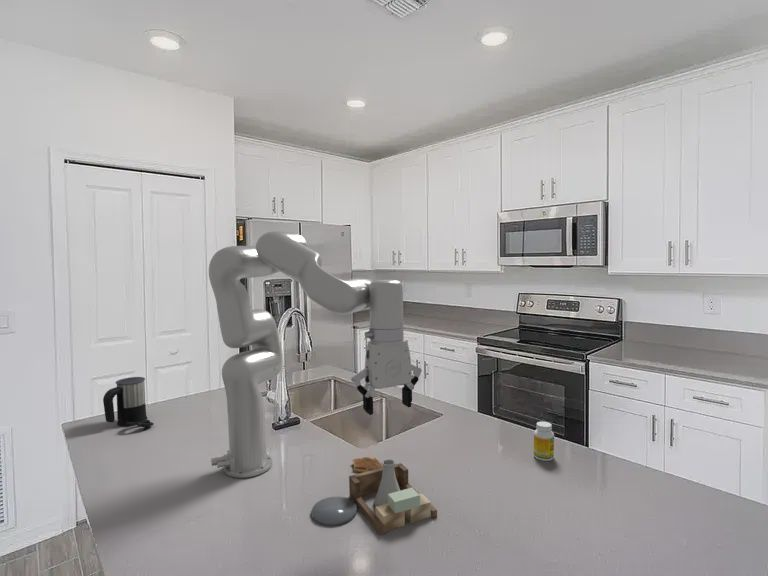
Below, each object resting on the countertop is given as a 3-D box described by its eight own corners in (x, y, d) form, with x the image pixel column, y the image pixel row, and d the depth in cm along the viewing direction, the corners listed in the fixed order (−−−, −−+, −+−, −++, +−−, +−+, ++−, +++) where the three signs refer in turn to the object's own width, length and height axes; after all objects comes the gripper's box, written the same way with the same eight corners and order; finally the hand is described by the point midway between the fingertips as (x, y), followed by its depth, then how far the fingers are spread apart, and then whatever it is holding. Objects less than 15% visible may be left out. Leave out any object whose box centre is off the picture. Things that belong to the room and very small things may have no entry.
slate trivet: (320, 530, 94) (320, 527, 94) (306, 506, 103) (306, 503, 103) (363, 517, 98) (363, 514, 98) (346, 495, 107) (346, 492, 107)
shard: (388, 479, 116) (388, 473, 116) (360, 485, 113) (360, 478, 113) (375, 461, 126) (375, 455, 126) (348, 466, 123) (348, 459, 123)
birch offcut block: (411, 523, 96) (411, 508, 96) (402, 514, 100) (402, 499, 100) (430, 517, 99) (430, 502, 98) (421, 508, 102) (421, 493, 102)
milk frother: (130, 416, 162) (127, 375, 161) (170, 417, 160) (168, 377, 159) (100, 431, 148) (97, 388, 147) (143, 433, 146) (141, 389, 145)
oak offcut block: (383, 532, 93) (383, 516, 93) (375, 522, 97) (375, 506, 97) (404, 525, 96) (404, 510, 95) (396, 516, 99) (395, 500, 99)
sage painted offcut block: (395, 513, 94) (395, 502, 94) (388, 505, 97) (387, 494, 97) (420, 506, 97) (420, 495, 97) (412, 498, 100) (412, 487, 100)
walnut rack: (379, 534, 92) (379, 511, 92) (349, 496, 107) (349, 475, 107) (437, 516, 99) (437, 494, 98) (401, 482, 113) (400, 463, 113)
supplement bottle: (534, 451, 130) (535, 419, 129) (554, 454, 127) (555, 422, 127) (532, 459, 125) (532, 425, 124) (553, 463, 123) (553, 428, 122)
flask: (372, 496, 107) (371, 455, 106) (402, 494, 108) (402, 454, 107) (374, 513, 100) (373, 470, 99) (406, 511, 101) (406, 468, 100)
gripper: (358, 341, 94) (359, 421, 95) (428, 333, 101) (429, 407, 103) (344, 336, 100) (346, 410, 102) (411, 329, 108) (412, 398, 109)
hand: (388, 409), depth 102 cm, fingers open, 9 cm apart
